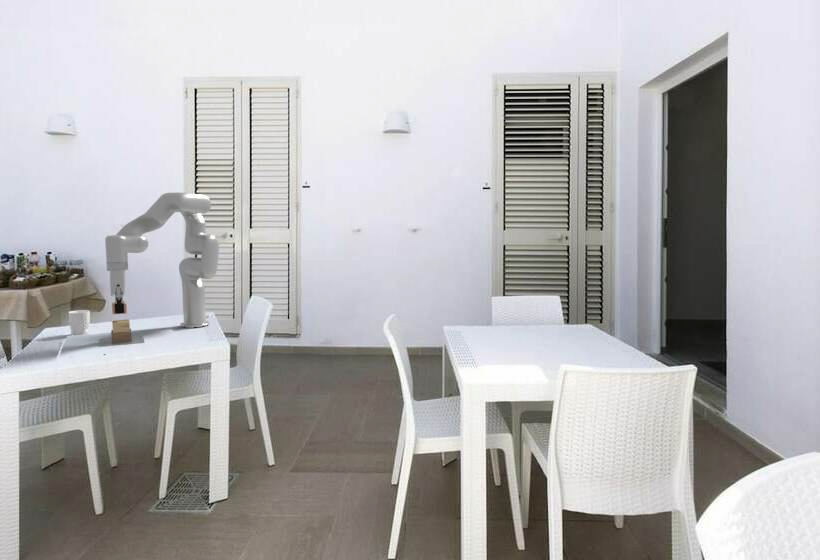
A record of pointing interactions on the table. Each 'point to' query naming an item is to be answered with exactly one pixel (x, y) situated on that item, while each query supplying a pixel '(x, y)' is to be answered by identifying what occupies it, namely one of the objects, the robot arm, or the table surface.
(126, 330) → the oak block
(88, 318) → the white cup
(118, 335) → the walnut base block
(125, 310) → the terracotta block
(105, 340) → the slate board
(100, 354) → the table surface
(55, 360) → the table surface
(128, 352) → the table surface
